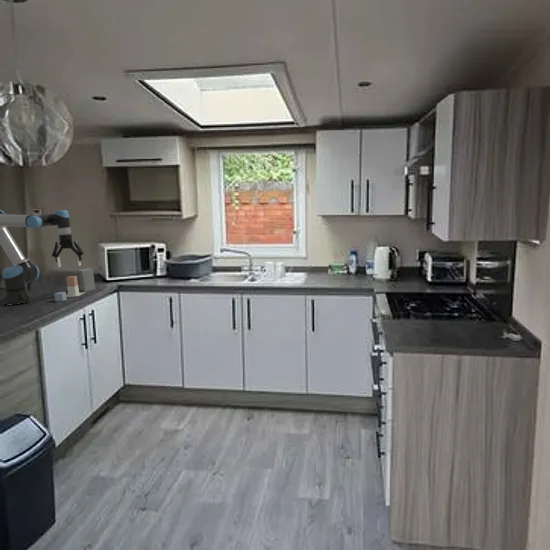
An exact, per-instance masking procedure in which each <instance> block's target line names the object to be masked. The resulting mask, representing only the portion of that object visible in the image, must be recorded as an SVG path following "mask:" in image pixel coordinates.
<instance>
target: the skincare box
mask: <svg viewBox="0 0 550 550" xmlns="http://www.w3.org/2000/svg"><path fill="white" fill-rule="evenodd" d="M77 279H78V285H79V289H80V290H79V292H89V291H93V290H96V284H95V283H96V281H95V275H94V269H93V268H88V267H86V268H83V269H78V270H77Z"/></svg>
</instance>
